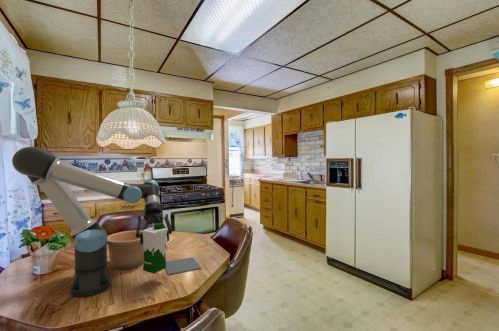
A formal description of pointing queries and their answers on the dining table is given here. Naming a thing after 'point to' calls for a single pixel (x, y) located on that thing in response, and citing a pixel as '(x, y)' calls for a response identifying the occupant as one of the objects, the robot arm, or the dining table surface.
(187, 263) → the mat
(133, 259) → the pottery
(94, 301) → the dining table surface
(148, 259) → the soya milk
